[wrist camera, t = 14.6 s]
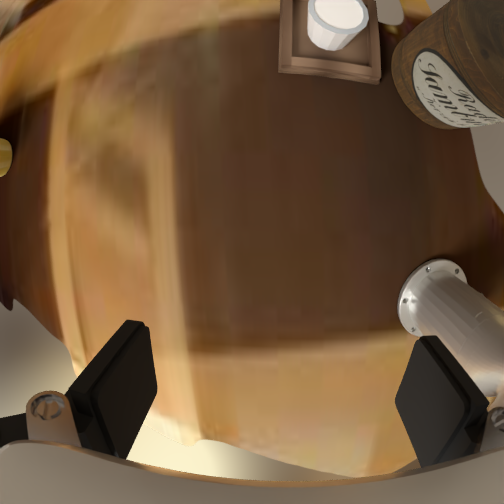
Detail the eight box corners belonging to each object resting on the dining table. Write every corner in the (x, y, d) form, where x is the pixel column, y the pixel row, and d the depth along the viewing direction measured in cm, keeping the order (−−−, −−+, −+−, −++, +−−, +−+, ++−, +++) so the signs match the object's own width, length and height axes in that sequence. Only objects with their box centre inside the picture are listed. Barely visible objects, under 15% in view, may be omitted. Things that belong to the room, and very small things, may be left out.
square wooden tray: (372, 7, 29) (377, -1, 27) (377, 84, 33) (383, 80, 31) (280, -6, 30) (280, -15, 28) (278, 72, 34) (278, 66, 31)
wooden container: (380, 101, 34) (478, 51, 13) (399, 19, 30) (474, -57, 8) (465, 147, 34) (579, 150, 13) (478, 66, 30) (574, 34, 9)
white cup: (306, 7, 30) (311, -19, 23) (356, 20, 30) (370, -4, 23) (298, 48, 32) (303, 25, 25) (351, 60, 32) (367, 41, 25)
